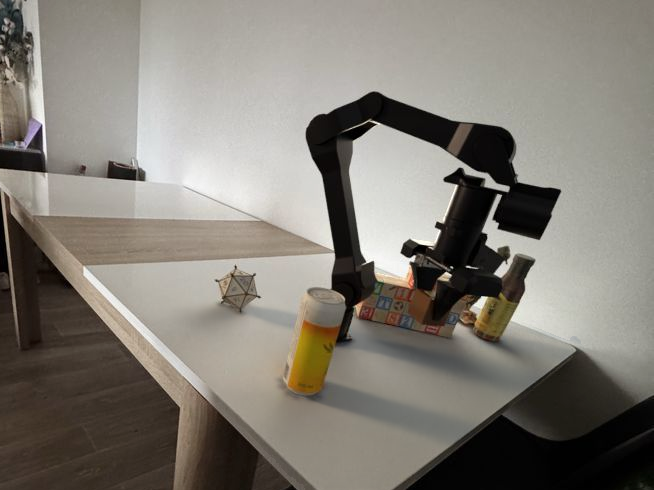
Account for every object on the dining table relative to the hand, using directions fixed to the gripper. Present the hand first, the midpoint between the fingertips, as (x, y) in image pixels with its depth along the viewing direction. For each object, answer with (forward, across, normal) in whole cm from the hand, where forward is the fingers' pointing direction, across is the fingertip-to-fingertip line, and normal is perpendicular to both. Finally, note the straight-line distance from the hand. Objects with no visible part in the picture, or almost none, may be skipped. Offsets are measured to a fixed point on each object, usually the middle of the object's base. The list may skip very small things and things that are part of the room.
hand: (427, 314), depth 65 cm
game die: (+11, +21, +28) cm, 37 cm away
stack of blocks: (+11, +20, -10) cm, 25 cm away
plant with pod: (+11, +25, -31) cm, 42 cm away
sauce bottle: (+11, +15, -30) cm, 36 cm away
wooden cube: (+1, 0, 0) cm, 1 cm away
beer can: (+11, -6, +21) cm, 25 cm away
